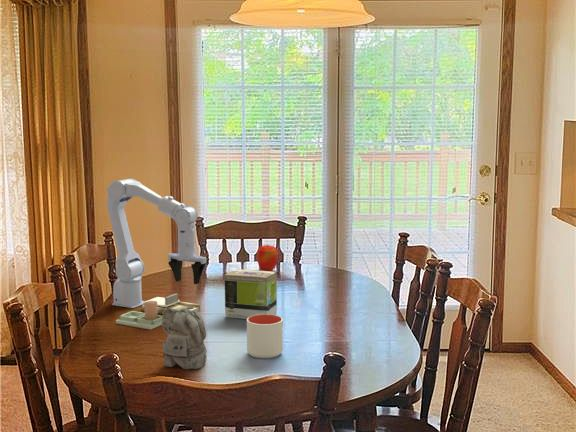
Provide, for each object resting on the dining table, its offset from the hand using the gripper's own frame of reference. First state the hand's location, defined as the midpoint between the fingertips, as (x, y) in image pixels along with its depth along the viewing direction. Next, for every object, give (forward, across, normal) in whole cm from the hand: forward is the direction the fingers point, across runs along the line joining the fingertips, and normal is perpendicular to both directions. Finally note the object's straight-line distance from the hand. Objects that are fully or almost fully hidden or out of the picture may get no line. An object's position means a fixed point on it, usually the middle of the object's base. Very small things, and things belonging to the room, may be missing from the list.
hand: (187, 282), depth 234 cm
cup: (+10, +44, -25) cm, 52 cm away
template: (+10, -6, -2) cm, 12 cm away
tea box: (+10, +22, +5) cm, 25 cm away
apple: (+10, -5, +65) cm, 66 cm away
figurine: (+10, +29, -42) cm, 52 cm away
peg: (+9, -1, -18) cm, 20 cm away
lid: (+8, -10, -2) cm, 12 cm away
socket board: (+10, -5, -18) cm, 21 cm away
